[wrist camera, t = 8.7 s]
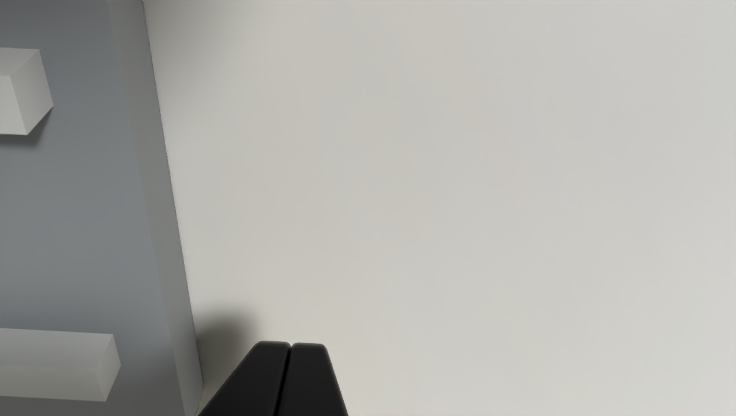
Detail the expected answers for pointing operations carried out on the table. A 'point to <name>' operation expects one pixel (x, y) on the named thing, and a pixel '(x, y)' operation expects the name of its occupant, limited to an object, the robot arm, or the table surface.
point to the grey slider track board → (88, 220)
